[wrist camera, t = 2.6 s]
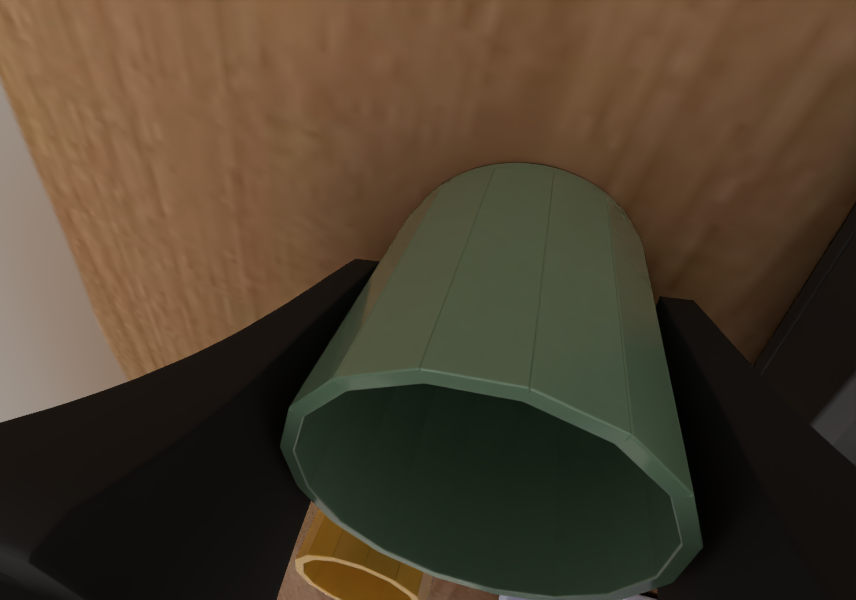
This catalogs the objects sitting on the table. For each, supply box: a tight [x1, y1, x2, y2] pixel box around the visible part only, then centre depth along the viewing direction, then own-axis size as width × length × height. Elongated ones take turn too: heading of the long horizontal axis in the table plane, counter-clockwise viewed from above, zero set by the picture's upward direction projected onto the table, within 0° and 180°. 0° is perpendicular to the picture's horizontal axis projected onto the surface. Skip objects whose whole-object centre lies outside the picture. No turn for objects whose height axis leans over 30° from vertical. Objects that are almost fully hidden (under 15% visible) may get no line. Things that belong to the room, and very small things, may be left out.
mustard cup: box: [295, 509, 433, 600], centre depth 14 cm, size 4×4×6 cm
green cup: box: [280, 163, 704, 600], centre depth 9 cm, size 6×6×6 cm
